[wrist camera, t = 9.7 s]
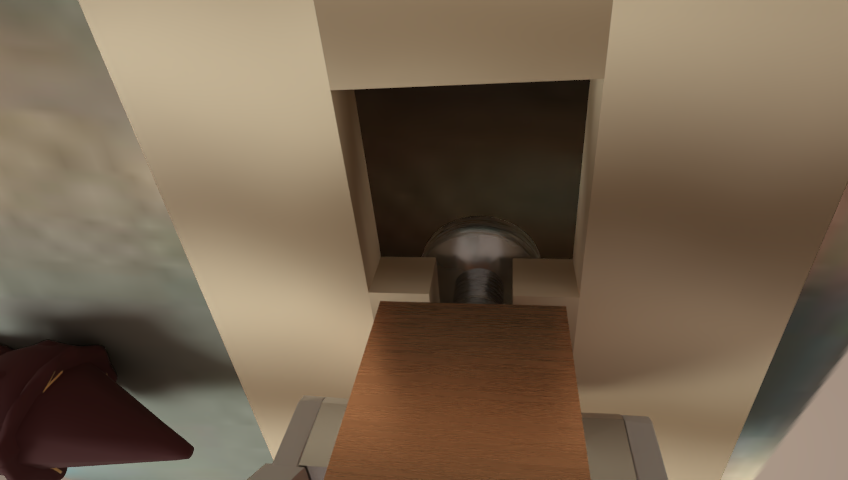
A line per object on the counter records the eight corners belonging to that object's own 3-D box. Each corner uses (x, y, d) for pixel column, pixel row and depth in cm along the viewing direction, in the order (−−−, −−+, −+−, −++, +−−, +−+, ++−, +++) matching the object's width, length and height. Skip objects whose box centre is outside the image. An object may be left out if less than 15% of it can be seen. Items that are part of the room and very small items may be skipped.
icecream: (143, 445, 20) (-174, 344, 22) (141, 570, 23) (-142, 472, 24) (233, 354, 27) (-15, 280, 28) (224, 460, 29) (-3, 387, 31)
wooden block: (409, 210, 14) (306, 533, 7) (552, 209, 14) (603, 565, 6) (420, 314, 17) (352, 644, 9) (544, 318, 16) (577, 675, 9)
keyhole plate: (233, -107, 15) (32, -108, 8) (765, -166, 12) (1021, -226, 6) (360, 419, 28) (319, 567, 22) (627, 437, 26) (665, 608, 19)
